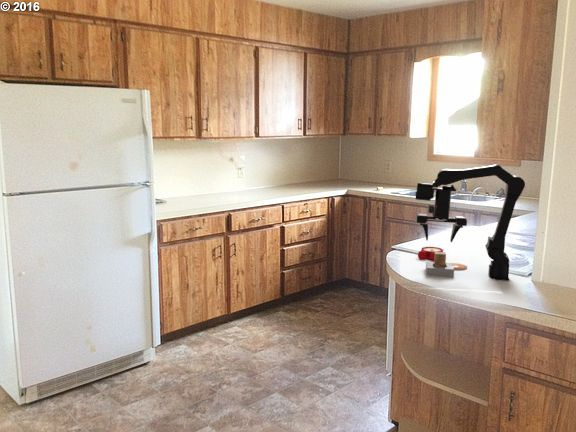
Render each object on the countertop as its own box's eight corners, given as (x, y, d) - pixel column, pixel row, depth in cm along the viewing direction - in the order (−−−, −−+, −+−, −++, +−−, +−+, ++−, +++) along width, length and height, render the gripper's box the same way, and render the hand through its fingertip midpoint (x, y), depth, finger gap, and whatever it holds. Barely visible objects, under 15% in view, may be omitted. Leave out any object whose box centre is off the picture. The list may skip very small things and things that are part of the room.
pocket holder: (451, 271, 212) (451, 262, 211) (453, 278, 202) (454, 269, 201) (425, 270, 214) (425, 261, 213) (426, 276, 204) (427, 268, 204)
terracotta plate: (465, 266, 219) (465, 263, 219) (468, 271, 211) (468, 269, 211) (443, 264, 221) (443, 262, 221) (444, 270, 213) (444, 268, 212)
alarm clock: (447, 248, 236) (439, 247, 223) (446, 262, 236) (438, 262, 223) (424, 245, 241) (415, 245, 228) (422, 259, 241) (414, 259, 228)
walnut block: (444, 271, 209) (445, 252, 208) (445, 274, 205) (445, 254, 204) (433, 271, 210) (434, 251, 209) (434, 273, 206) (435, 253, 205)
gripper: (464, 200, 210) (460, 238, 213) (416, 197, 213) (413, 235, 216) (469, 204, 200) (464, 244, 202) (418, 201, 202) (415, 241, 205)
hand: (438, 241), depth 207 cm, fingers open, 9 cm apart
